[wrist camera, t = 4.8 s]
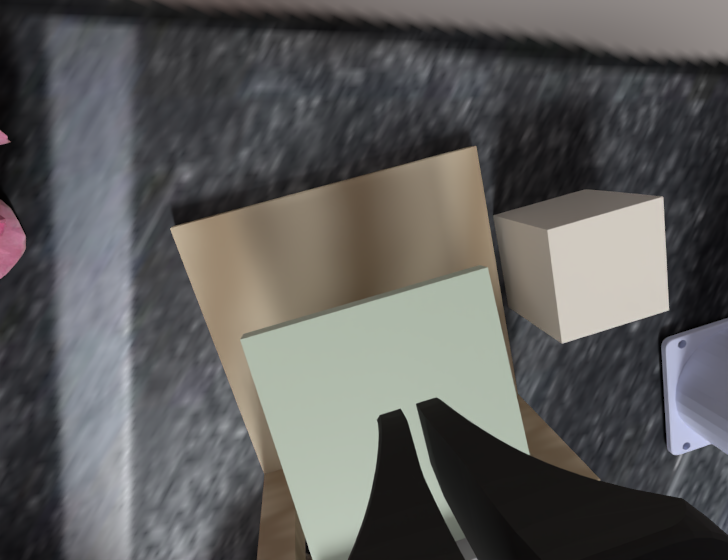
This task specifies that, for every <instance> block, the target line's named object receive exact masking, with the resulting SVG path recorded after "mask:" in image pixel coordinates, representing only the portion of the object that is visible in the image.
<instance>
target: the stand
mask: <svg viewBox="0 0 728 560" xmlns="http://www.w3.org/2000/svg"><path fill="white" fill-rule="evenodd" d="M170 230H171V232H172V235H173V237H174V240H175V243H176V245H177V248H178V250H179V253H180V256H181V258H182V261H183V263H184V266H185V269H186V271H187V274H188V276H189V279H190V282H191V284H192V287H193V289H194V292H195V295H196V297H197V300H198V303H199V305H200V308H201V310H202V313H203V316H204V318H205V321H206V323H207V326H208V329H209V331H210V334H211V336H212V339H213V342H214V344H215V347H216V349H217V352H218V355H219V357H220V360H221V362H222V365H223V368H224V370H225V373H226V375H227V378H228V381H229V383H230V386H231V388H232V391H233V394H234V396H235V399H236V401H237V404H238V407H239V409H240V412H241V414H242V417H243V420H244V422H245V425H246V428H247V430H248V433H249V435H250V438H251V441H252V443H253V446H254V448H255V451H256V454H257V456H258V459H259V461H260V464H261V467H262V469H263V472H264V474H265V475H264V486H263V497H262V508H261V519H260V530H259V541H258V552H257V560H306V554H305V535H304V532H303V529H302V526H301V523H300V520H299V517H298V514H297V511H296V508H295V505H294V502H293V499H292V496H291V493H290V490H289V487H288V484H287V481H286V478H285V475H284V472H283V468H282V465H281V462H280V459H279V456H278V453H277V450H276V447H275V444H274V441H273V438H272V435H271V432H270V429H269V426H268V423H267V420H266V417H265V414H264V411H263V408H262V405H261V402H260V399H259V396H258V393H257V390H256V387H255V384H254V381H253V378H252V374H251V371H250V368H249V365H248V362H247V359H246V356H245V353H244V350H243V347H242V344H241V341H240V339H241V337H242V335H243V334H245V333H248V332H252V331H255V330H258V329H262V328H265V327H269V326H272V325H276V324H279V323H282V322H286V321H289V320H293V319H296V318H300V317H303V316H306V315H310V314H313V313H317V312H320V311H324V310H327V309H331V308H334V307H337V306H341V305H344V304H348V303H351V302H355V301H358V300H361V299H365V298H368V297H372V296H375V295H379V294H382V293H385V292H389V291H392V290H396V289H399V288H403V287H406V286H409V285H413V284H416V283H420V282H423V281H427V280H430V279H434V278H437V277H440V276H444V275H447V274H451V273H454V272H458V271H461V270H464V269H468V268H471V267H475V266H478V265H481V266H485V267H488V271H489V275H490V280H491V284H492V288H493V293H494V297H495V302H496V306H497V311H498V315H499V320H500V324H501V329H502V333H503V338H504V342H505V346H506V351H507V355H508V360H509V364H510V369H511V373H512V378H513V382H514V387H515V391H516V396H517V400H518V404H519V409H520V413H521V418H522V422H523V427H524V431H525V436H526V440H527V445H528V449H529V454H530V456H533V457H535V458H537V459H539V460H542V461H544V462H546V463H549V464H551V465H554V466H557V467H559V468H562V469H565V470H568V471H571V472H574V473H577V474H579V475H582V476H585V477H589V478H592V479H596V480H599V481H600V479H599V478H598V477H597V476H596V475H595V474H594V473H593V472H592V470H591V469H590V468H589V467H588V466H587V465H586V464H585V463H584V462H583V461H582V460H581V459H580V458H579V457H578V456H577V455H576V454H575V453H574V452H573V451H572V450H571V449H570V448H569V447H568V446H567V445H566V443H565V442H564V441H563V440H562V439H561V438H560V437H559V436H558V435H557V434H556V433H555V432H554V431H553V430H552V429H551V428H550V427H549V426H548V425H547V424H546V423H545V422H544V421H543V420H542V419H541V417H540V416H539V415H538V414H537V413H536V412H535V411H534V410H533V409H532V408H531V407H530V406H529V405H528V404H527V403H526V402H525V401H524V400H523V399H522V398H521V397H520V396H519V395H518V392H517V386H516V380H515V374H514V368H513V362H512V356H511V350H510V344H509V338H508V332H507V326H506V320H505V314H504V308H503V302H502V296H501V290H500V285H499V279H498V273H497V267H496V261H495V255H494V249H493V243H492V237H491V231H490V225H489V219H488V213H487V207H486V201H485V195H484V189H483V183H482V178H481V172H480V166H479V160H478V154H477V148H476V146H470V147H466V148H462V149H458V150H455V151H451V152H447V153H443V154H440V155H436V156H432V157H429V158H425V159H421V160H417V161H414V162H410V163H406V164H402V165H399V166H395V167H391V168H388V169H384V170H380V171H376V172H373V173H369V174H365V175H361V176H358V177H354V178H350V179H347V180H343V181H339V182H335V183H332V184H328V185H324V186H321V187H317V188H313V189H309V190H306V191H302V192H298V193H294V194H291V195H287V196H283V197H280V198H276V199H272V200H268V201H265V202H261V203H257V204H253V205H250V206H246V207H242V208H239V209H235V210H231V211H227V212H224V213H220V214H216V215H212V216H209V217H205V218H201V219H198V220H194V221H190V222H186V223H183V224H179V225H175V226H173V227H171V228H170Z"/></svg>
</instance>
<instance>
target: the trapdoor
mask: <svg viewBox="0 0 728 560" xmlns="http://www.w3.org/2000/svg"><path fill="white" fill-rule="evenodd" d="M240 341H241V344H242V347H243V350H244V353H245V356H246V359H247V362H248V365H249V368H250V371H251V374H252V378H253V381H254V384H255V387H256V390H257V393H258V396H259V399H260V402H261V405H262V408H263V411H264V414H265V417H266V420H267V423H268V426H269V429H270V432H271V435H272V438H273V441H274V444H275V447H276V450H277V453H278V456H279V459H280V462H281V465H282V468H283V472H284V475H285V478H286V481H287V484H288V487H289V490H290V493H291V496H292V499H293V502H294V505H295V508H296V511H297V514H298V517H299V520H300V523H301V526H302V529H303V532H304V535H305V538H306V541H307V544H308V547H309V550H310V553H311V556H312V559H313V560H348V558H349V555H350V553H351V551H352V548H353V546H354V543H355V541H356V538H357V535H358V533H359V530H360V527H361V525H362V522H363V519H364V515H365V512H366V509H367V505H368V502H369V498H370V494H371V489H372V484H373V479H374V474H375V469H376V462H377V453H378V439H379V431H378V422H377V419H378V417H379V415H381V414H385V413H388V412H391V411H394V410H397V409H400V408H401V410H402V412H403V413H404V415H405V417H406V419H407V421H408V424H409V428H410V431H411V435H412V438H413V442H414V446H415V449H416V453H417V456H418V460H419V463H420V467H421V470H422V473H423V475H424V478H425V480H426V483H427V485H428V487H429V489H430V491H431V493H432V495H433V498H434V500H435V502H436V504H437V506H438V508H439V510H440V512H441V514H442V516H443V518H444V520H445V522H446V524H447V526H448V528H449V530H450V532H451V534H452V536H453V538H454V540H455V542H456V544H457V545H458V547H459V549H460V551H461V553H462V555H463V557H464V558H465V560H478V559H477V557H476V556H475V554H474V552H473V550H472V548H471V546H470V544H469V543H468V541H467V539H466V537H465V535H464V533H463V531H462V530H461V528H460V526H459V524H458V522H457V520H456V518H455V517H454V515H453V513H452V511H451V509H450V507H449V505H448V503H447V502H446V500H445V498H444V496H443V493H442V491H441V488H440V486H439V483H438V481H437V479H436V476H435V473H434V471H433V468H432V466H431V463H430V459H429V455H428V451H427V447H426V443H425V439H424V435H423V431H422V427H421V423H420V419H419V415H418V411H417V407H416V403H420V402H423V401H426V400H429V399H432V398H436V397H437V398H439V399H441V400H442V401H443V402H444V403H446V404H447V405H448V406H450V407H451V408H452V409H454V410H455V411H456V412H458V413H459V414H461V415H462V416H463V417H465V418H466V419H468V420H469V421H471V422H472V423H474V424H475V425H477V426H478V427H480V428H481V429H483V430H484V431H486V432H488V433H489V434H491V435H493V436H494V437H496V438H498V439H499V440H501V441H503V442H505V443H506V444H508V445H510V446H512V447H514V448H516V449H518V450H520V451H522V452H524V453H526V454H528V455H530V454H529V449H528V445H527V440H526V436H525V431H524V427H523V422H522V418H521V413H520V409H519V404H518V400H517V396H516V391H515V387H514V382H513V378H512V373H511V369H510V364H509V360H508V355H507V351H506V346H505V342H504V338H503V333H502V329H501V324H500V320H499V315H498V311H497V306H496V302H495V297H494V293H493V288H492V284H491V280H490V275H489V271H488V267H485V266H481V265H478V266H475V267H471V268H468V269H464V270H461V271H458V272H454V273H451V274H447V275H444V276H440V277H437V278H434V279H430V280H427V281H423V282H420V283H416V284H413V285H409V286H406V287H403V288H399V289H396V290H392V291H389V292H385V293H382V294H379V295H375V296H372V297H368V298H365V299H361V300H358V301H355V302H351V303H348V304H344V305H341V306H337V307H334V308H331V309H327V310H324V311H320V312H317V313H313V314H310V315H306V316H303V317H300V318H296V319H293V320H289V321H286V322H282V323H279V324H276V325H272V326H269V327H265V328H262V329H258V330H255V331H252V332H248V333H245V334H243V335H242V337H241V339H240Z"/></svg>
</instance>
